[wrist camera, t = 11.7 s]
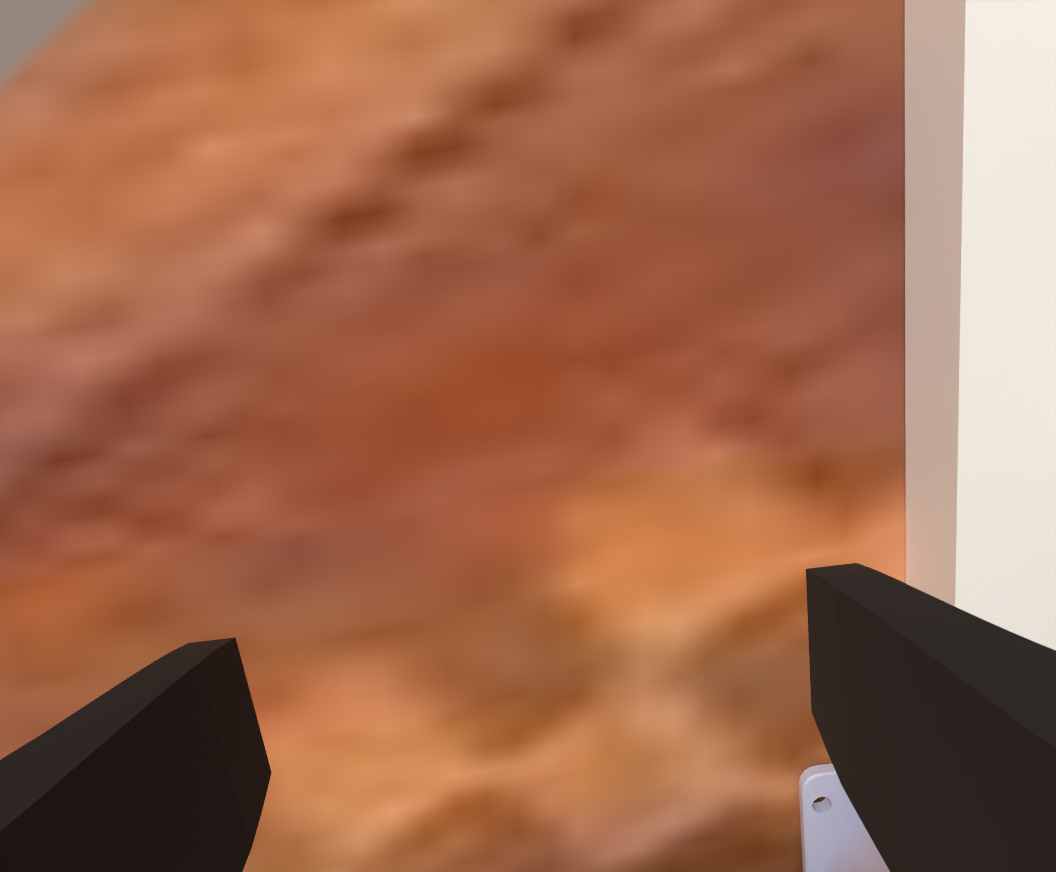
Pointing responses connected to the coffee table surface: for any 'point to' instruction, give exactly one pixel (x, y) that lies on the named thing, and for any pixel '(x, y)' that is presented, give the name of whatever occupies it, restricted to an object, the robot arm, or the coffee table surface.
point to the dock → (982, 308)
